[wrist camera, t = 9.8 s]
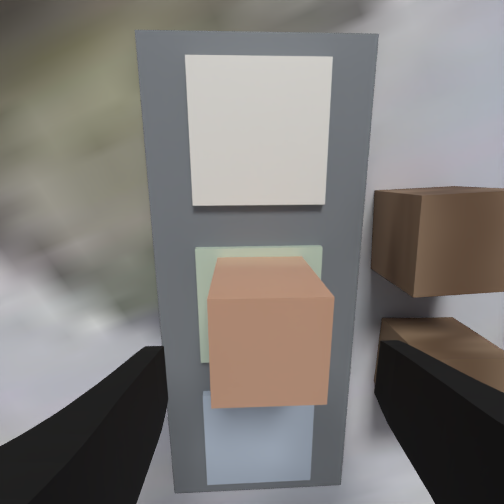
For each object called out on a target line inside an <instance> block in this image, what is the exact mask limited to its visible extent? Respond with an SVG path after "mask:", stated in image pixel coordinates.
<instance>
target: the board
mask: <svg viewBox="0 0 504 504" xmlns="http://www.w3.org/2000/svg"><path fill="white" fill-rule="evenodd" d="M135 37H136V49H137V61H138V72H139V84H140V95H141V107H142V119H143V130H144V142H145V153H146V165H147V177H148V188H149V200H150V212H151V223H152V235H153V246H154V258H155V270H156V281H157V293H158V304H159V316H160V328H161V339H162V346H164V353H165V364H166V376H167V388H168V404H167V409H168V421H169V432H170V444H171V455H172V467H173V479H174V490H175V493H191V492H211V491H230V490H250V489H270V488H290V487H310V486H329V485H341V474H342V462H343V451H344V439H345V427H346V415H347V403H348V391H349V380H350V368H351V356H352V344H353V332H354V320H355V309H356V297H357V285H358V273H359V261H360V250H361V238H362V226H363V214H364V202H365V190H366V179H367V167H368V155H369V143H370V131H371V119H372V108H373V96H374V84H375V72H376V60H377V49H378V37H379V34H363V33H300V32H237V31H175V30H135ZM291 256H302V257H303V258H304V260H305V261H306V262H307V263H308V265H309V266H310V267H311V268H312V270H313V271H314V272H315V273H316V275H317V276H318V277H319V278H320V280H321V281H322V282H323V283H324V284H325V286H326V287H327V288H328V289H329V291H330V292H331V293H332V294H333V296H334V297H335V299H334V313H333V327H332V341H331V355H330V369H329V383H328V397H327V405H302V406H273V407H244V408H214V409H211V390H210V364H209V338H208V313H207V297H208V293H209V289H210V285H211V281H212V277H213V273H214V269H215V265H216V261H217V257H291Z"/></svg>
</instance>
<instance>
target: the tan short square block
mask: <svg viewBox="0 0 504 504" xmlns="http://www.w3.org/2000/svg"><path fill="white" fill-rule="evenodd" d="M334 299H335V297H334V296H333V294H332V293H331V292H330V291H329V289H328V288H327V287H326V286H325V284H324V283H323V282H322V281H321V280H320V278H319V277H318V276H317V275H316V273H315V272H314V271H313V270H312V268H311V267H310V266H309V265H308V263H307V262H306V261H305V260H304V258H303V257H302V256H291V257H217V261H216V265H215V269H214V273H213V277H212V281H211V285H210V289H209V293H208V297H207V313H208V338H209V364H210V390H211V409H214V408H244V407H273V406H302V405H327V397H328V383H329V369H330V355H331V341H332V327H333V313H334Z"/></svg>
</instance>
